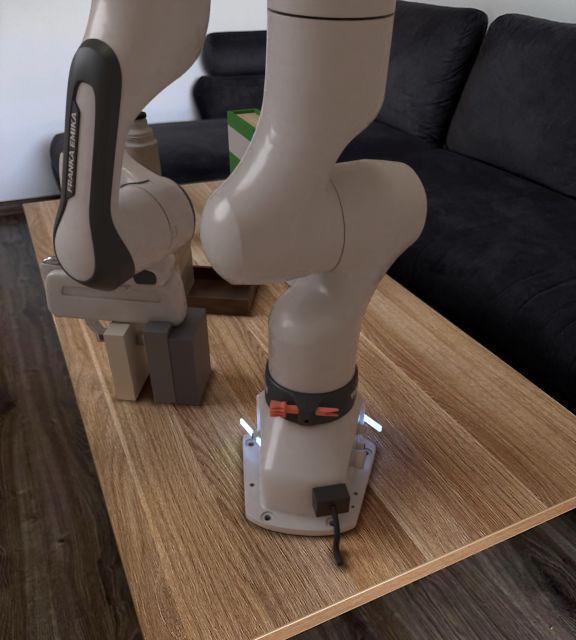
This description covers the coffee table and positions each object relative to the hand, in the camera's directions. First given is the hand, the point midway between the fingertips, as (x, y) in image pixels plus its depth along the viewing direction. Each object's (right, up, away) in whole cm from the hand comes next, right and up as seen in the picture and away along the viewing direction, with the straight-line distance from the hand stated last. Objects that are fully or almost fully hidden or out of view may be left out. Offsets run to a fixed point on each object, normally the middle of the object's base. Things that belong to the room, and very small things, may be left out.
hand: (124, 342), depth 91 cm
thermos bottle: (-7, +27, +48) cm, 56 cm away
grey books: (+9, -7, +4) cm, 12 cm away
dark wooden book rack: (+9, +11, +27) cm, 30 cm away
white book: (+1, -6, +4) cm, 8 cm away
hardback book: (+18, +35, +58) cm, 70 cm away
